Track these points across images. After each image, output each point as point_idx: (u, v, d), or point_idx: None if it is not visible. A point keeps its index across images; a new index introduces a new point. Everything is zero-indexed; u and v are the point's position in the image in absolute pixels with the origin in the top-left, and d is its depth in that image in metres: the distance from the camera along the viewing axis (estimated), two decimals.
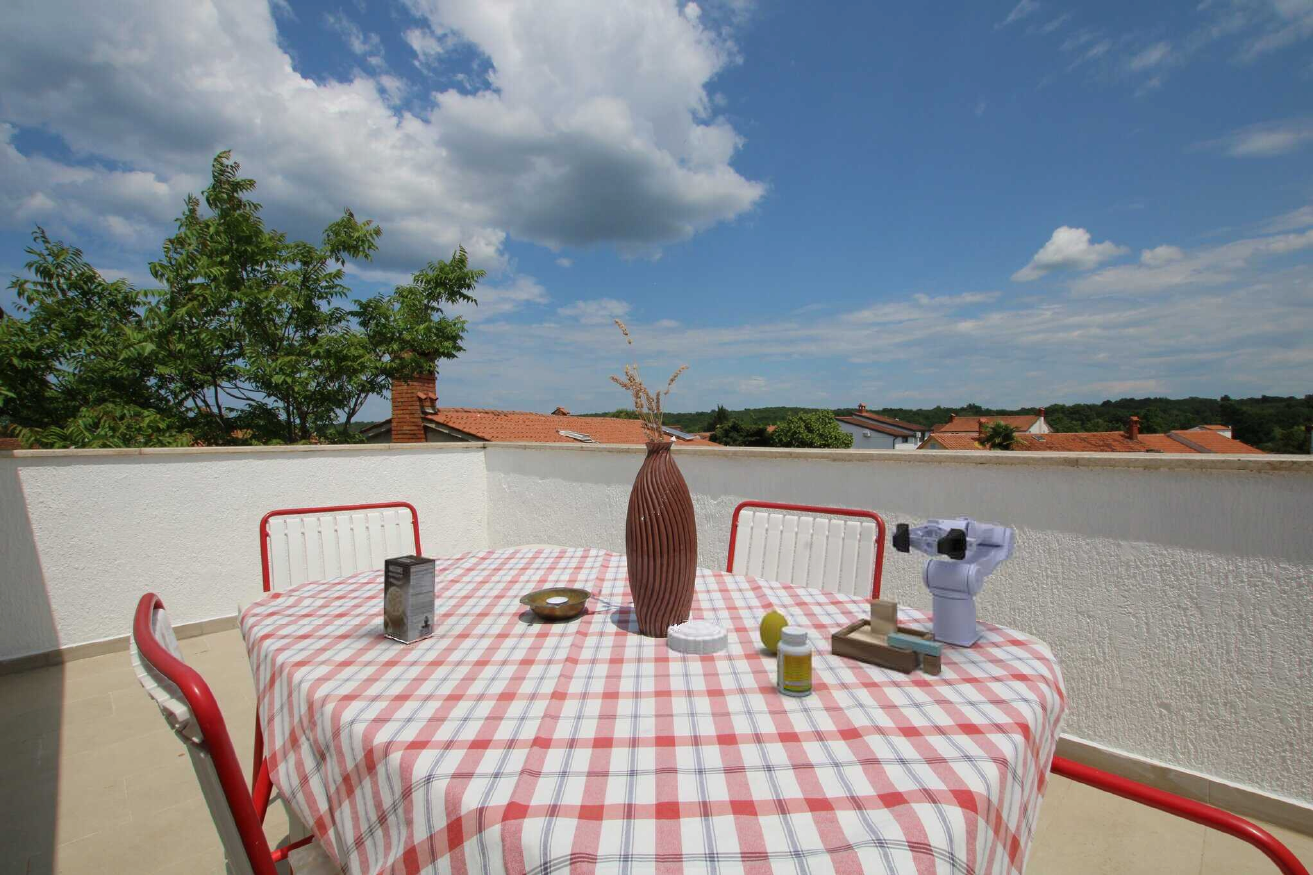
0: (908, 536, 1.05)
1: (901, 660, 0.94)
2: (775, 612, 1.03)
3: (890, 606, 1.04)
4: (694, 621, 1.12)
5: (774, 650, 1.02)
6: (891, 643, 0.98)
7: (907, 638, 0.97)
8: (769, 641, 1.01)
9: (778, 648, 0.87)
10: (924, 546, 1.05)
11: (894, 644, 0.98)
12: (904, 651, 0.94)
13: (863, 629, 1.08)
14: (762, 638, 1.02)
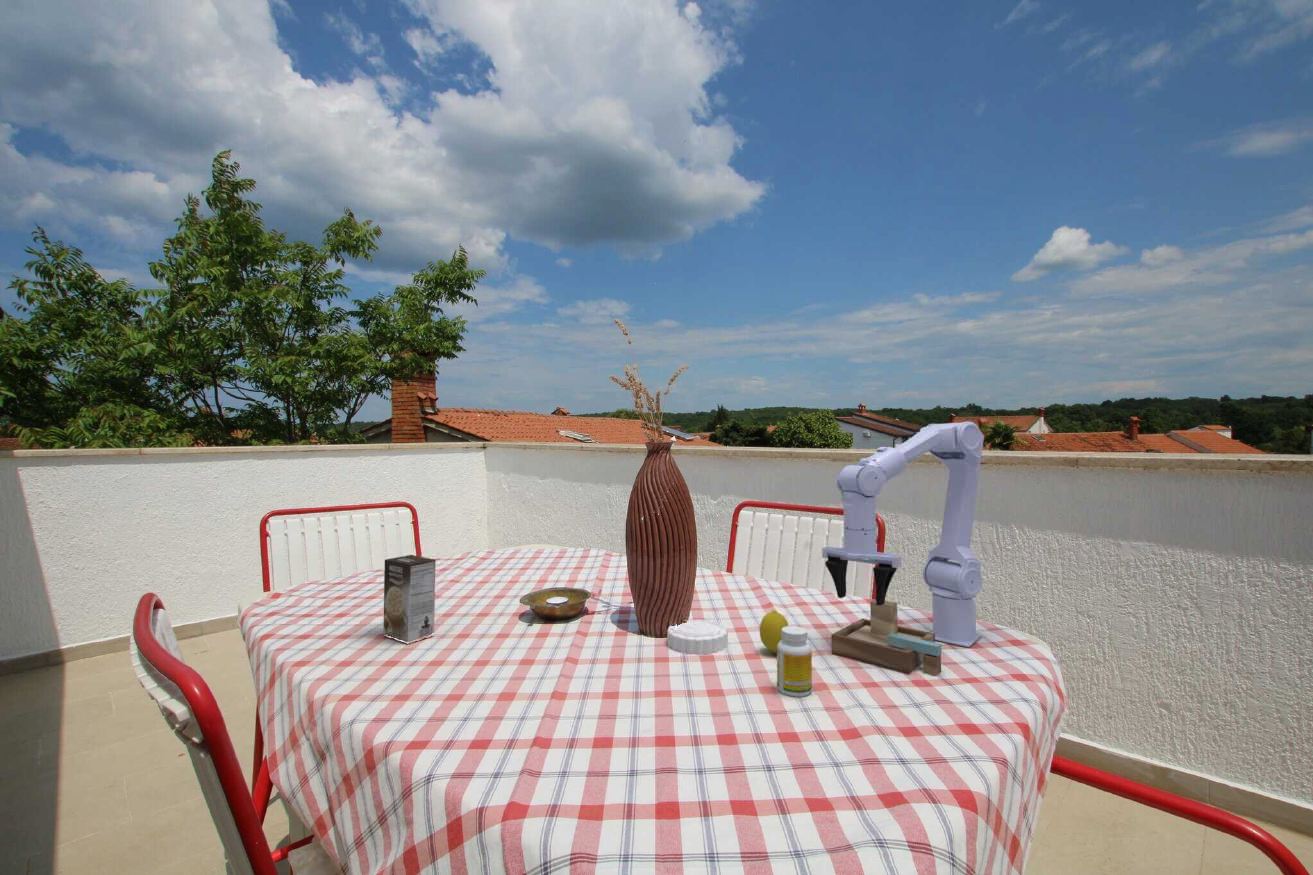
0: (841, 564, 1.06)
1: (901, 660, 0.94)
2: (775, 612, 1.03)
3: (890, 606, 1.04)
4: (694, 621, 1.12)
5: (774, 650, 1.02)
6: (891, 643, 0.98)
7: (907, 638, 0.97)
8: (769, 641, 1.01)
9: (778, 648, 0.87)
10: None
11: (894, 644, 0.98)
12: (904, 651, 0.94)
13: (863, 629, 1.08)
14: (762, 638, 1.02)
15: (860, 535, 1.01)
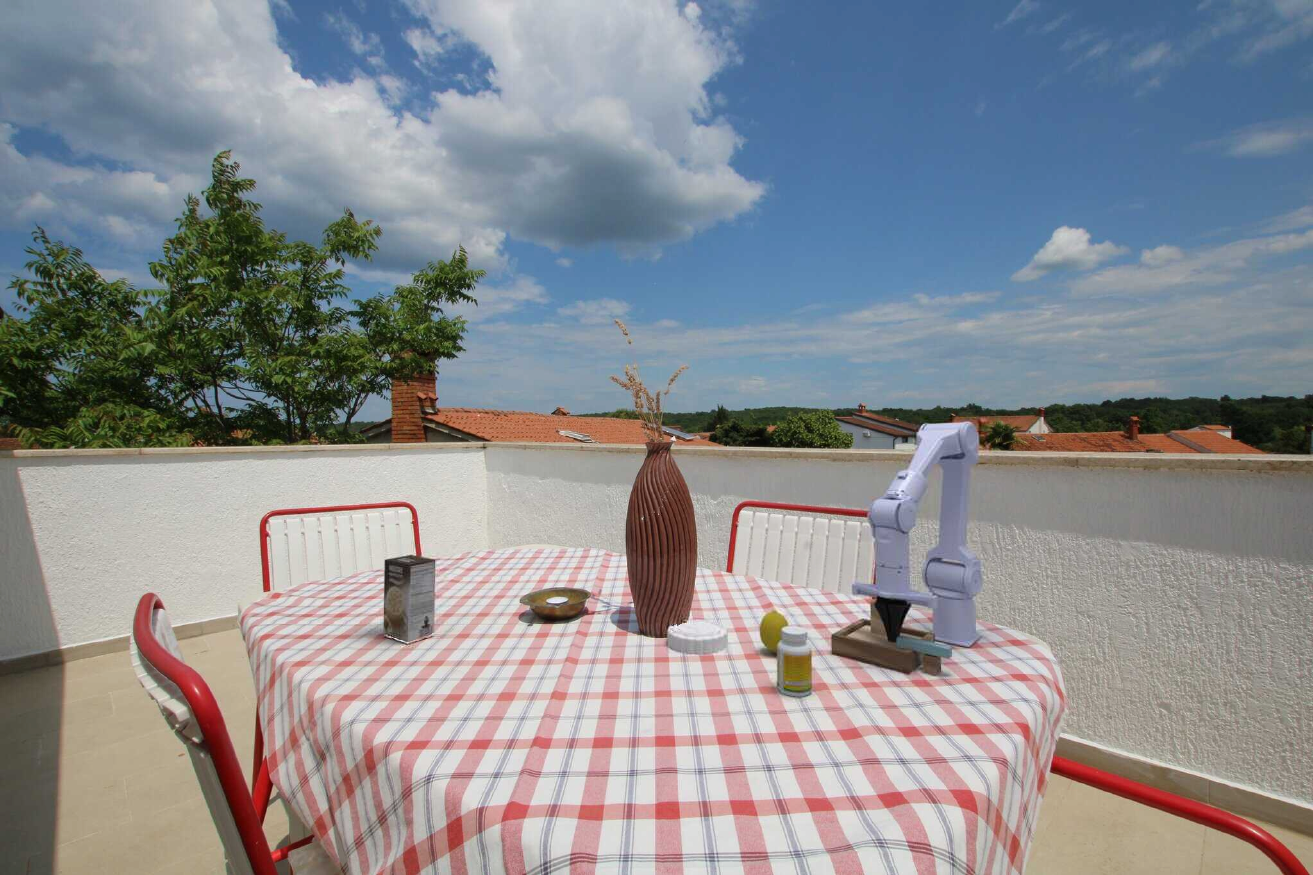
0: None
1: (901, 660, 0.94)
2: (775, 612, 1.03)
3: None
4: (694, 621, 1.12)
5: (774, 650, 1.02)
6: (901, 645, 0.97)
7: (917, 640, 0.96)
8: (769, 641, 1.01)
9: (778, 648, 0.87)
10: None
11: (904, 646, 0.97)
12: (904, 651, 0.94)
13: (863, 629, 1.08)
14: (762, 638, 1.02)
15: (893, 573, 0.96)
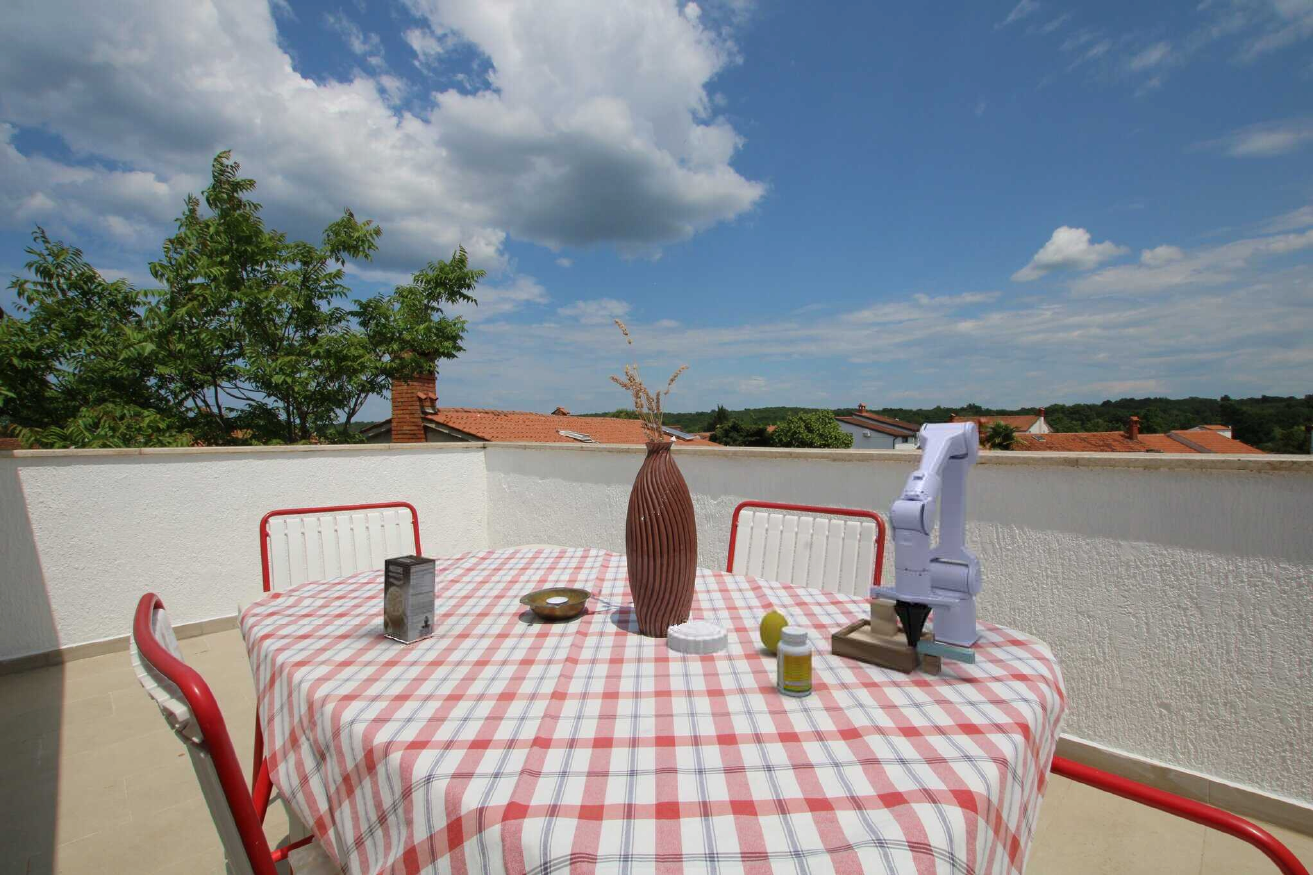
0: None
1: (901, 660, 0.94)
2: (775, 612, 1.03)
3: (890, 606, 1.04)
4: (694, 621, 1.12)
5: (774, 650, 1.02)
6: (921, 650, 0.94)
7: (938, 645, 0.94)
8: (769, 641, 1.01)
9: (778, 648, 0.87)
10: None
11: (925, 651, 0.94)
12: (904, 651, 0.94)
13: (863, 629, 1.08)
14: (762, 638, 1.02)
15: (914, 576, 0.94)
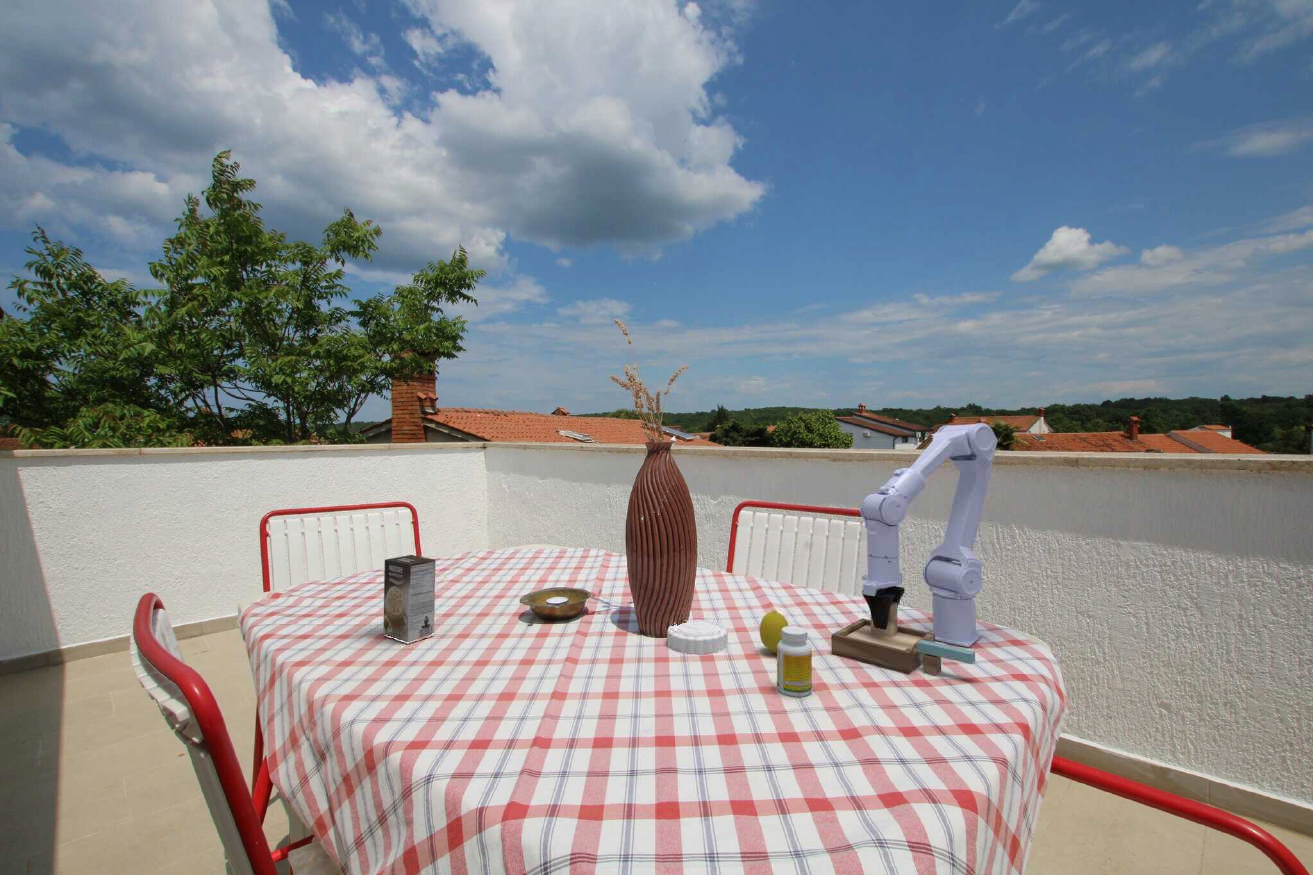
0: (884, 590, 1.08)
1: (901, 660, 0.94)
2: (775, 612, 1.03)
3: (890, 606, 1.04)
4: (694, 621, 1.12)
5: (774, 650, 1.02)
6: (921, 650, 0.94)
7: (938, 645, 0.94)
8: (769, 641, 1.01)
9: (778, 648, 0.87)
10: None
11: (925, 651, 0.94)
12: (904, 651, 0.94)
13: (863, 629, 1.08)
14: (762, 638, 1.02)
15: None
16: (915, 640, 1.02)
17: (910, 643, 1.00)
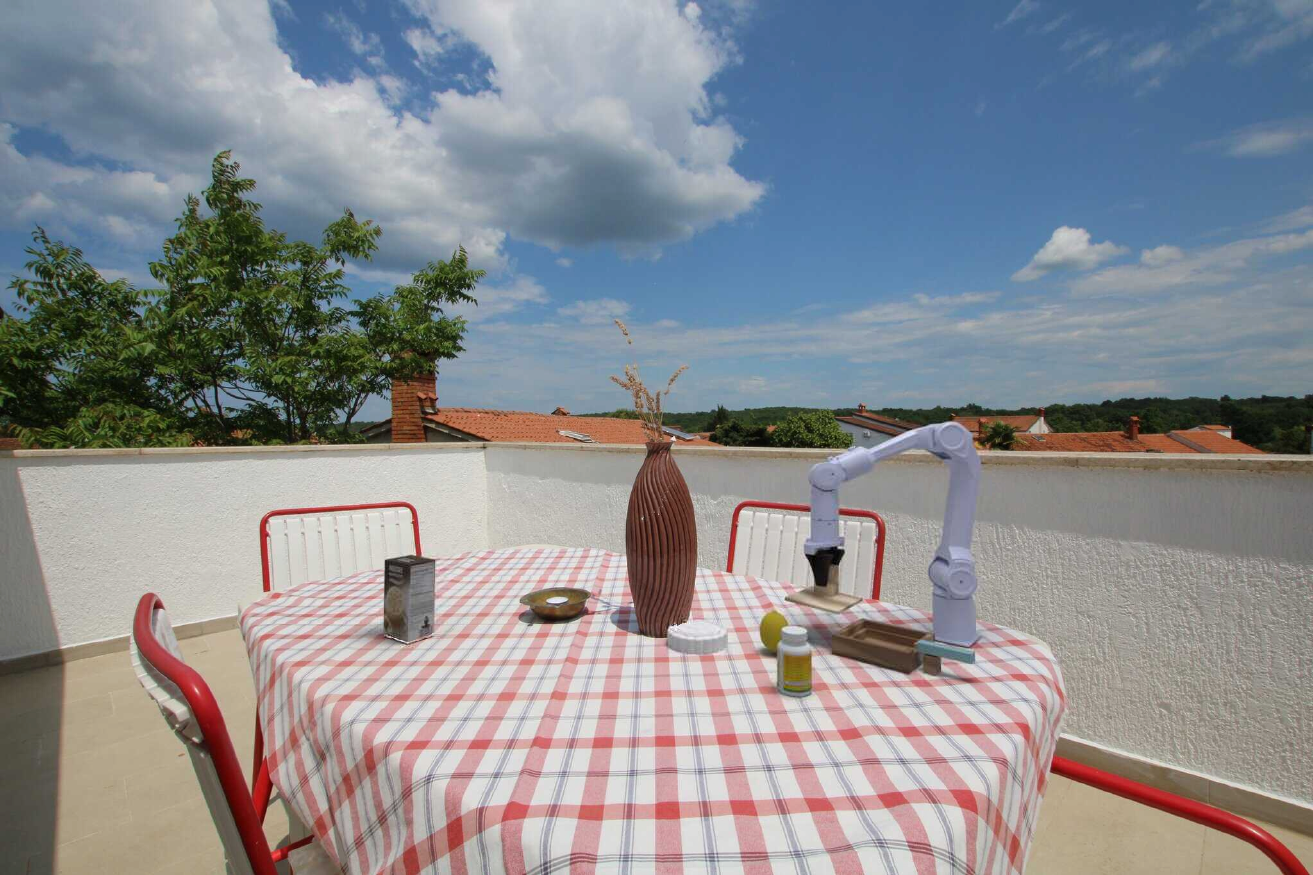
0: (826, 552, 1.16)
1: (901, 660, 0.94)
2: (775, 612, 1.03)
3: (831, 569, 1.12)
4: (694, 621, 1.12)
5: (774, 650, 1.02)
6: (921, 650, 0.94)
7: (938, 645, 0.94)
8: (769, 641, 1.01)
9: (778, 648, 0.87)
10: None
11: (925, 651, 0.94)
12: (904, 651, 0.94)
13: (808, 590, 1.16)
14: (762, 638, 1.02)
15: None
16: (852, 600, 1.10)
17: (847, 602, 1.09)
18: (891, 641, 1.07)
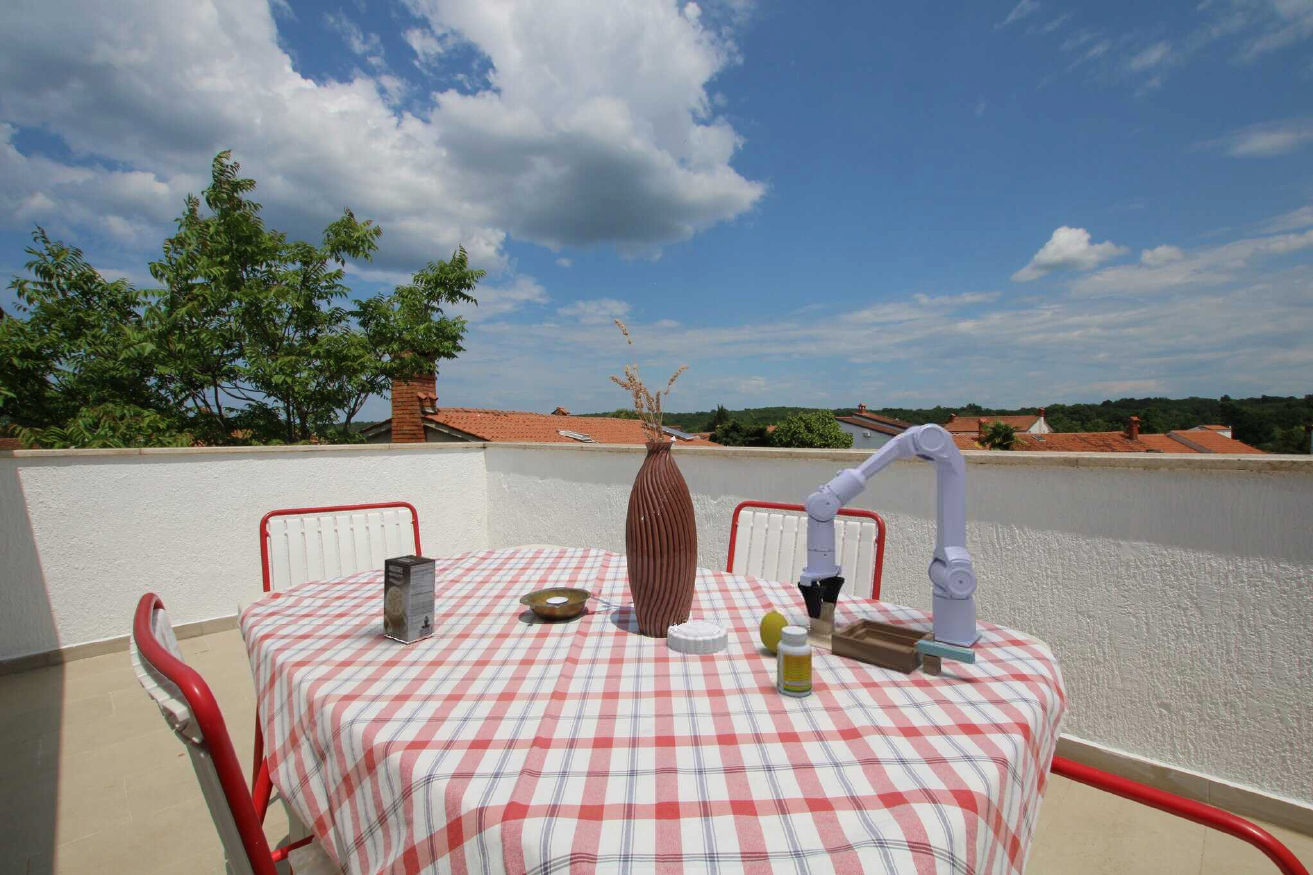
0: (826, 580, 1.18)
1: (901, 660, 0.94)
2: (775, 612, 1.03)
3: (827, 607, 1.13)
4: (694, 621, 1.12)
5: (774, 650, 1.02)
6: (921, 650, 0.94)
7: (938, 645, 0.94)
8: (769, 641, 1.01)
9: (778, 648, 0.87)
10: None
11: (925, 651, 0.94)
12: (904, 651, 0.94)
13: (804, 628, 1.17)
14: (762, 638, 1.02)
15: (807, 553, 1.16)
16: None
17: None
18: (891, 641, 1.07)
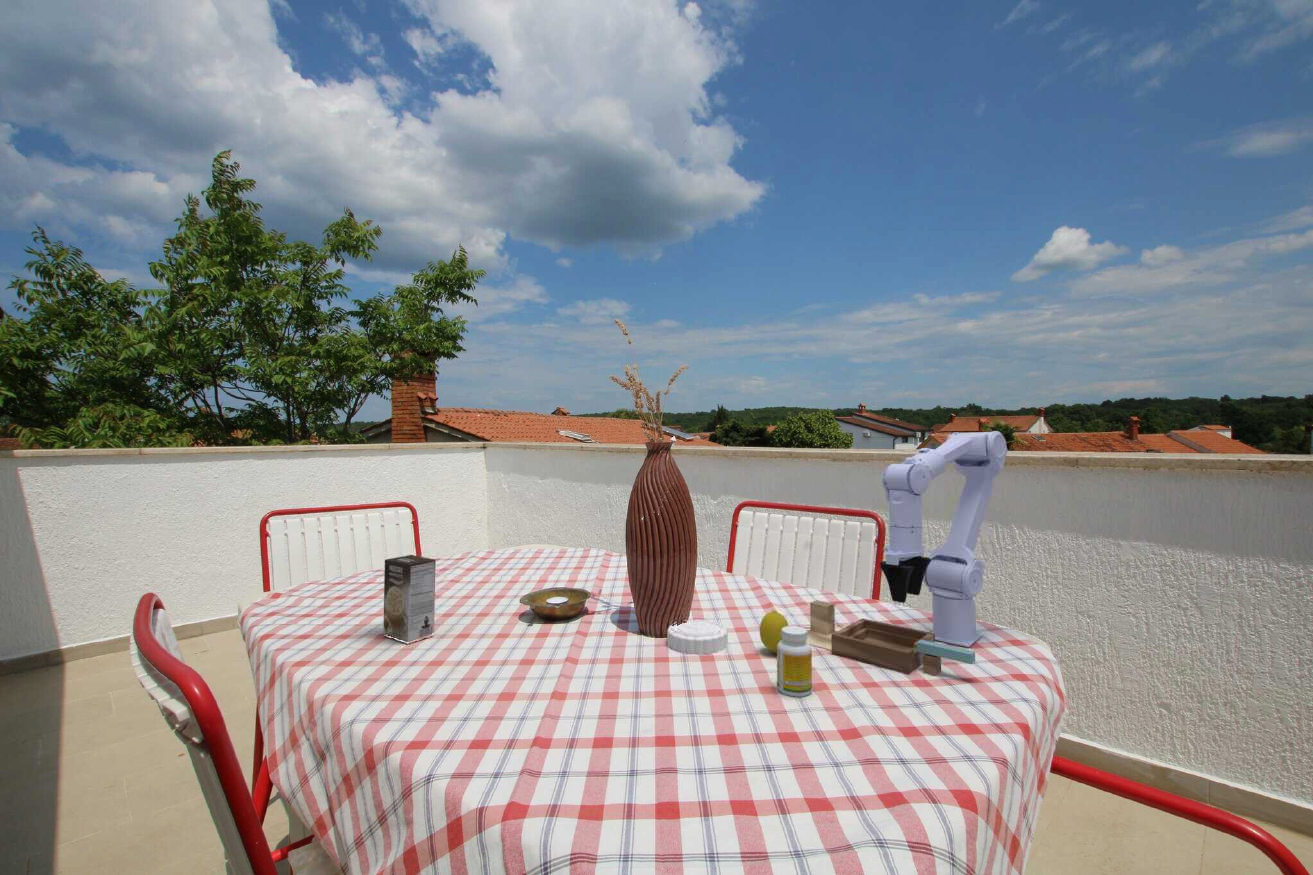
0: (910, 561, 1.07)
1: (901, 660, 0.94)
2: (775, 612, 1.03)
3: (826, 606, 1.13)
4: (694, 621, 1.12)
5: (774, 650, 1.02)
6: (921, 650, 0.94)
7: (938, 645, 0.94)
8: (769, 641, 1.01)
9: (778, 648, 0.87)
10: None
11: (925, 651, 0.94)
12: (904, 651, 0.94)
13: (805, 628, 1.17)
14: (762, 638, 1.02)
15: (889, 530, 1.05)
16: None
17: None
18: (891, 641, 1.07)
